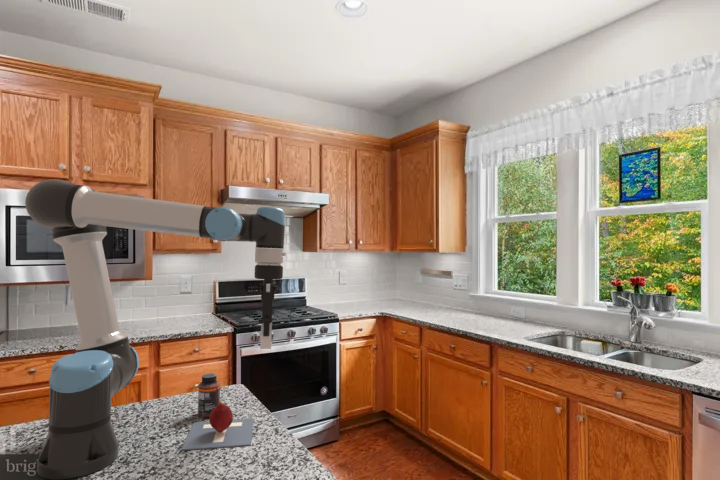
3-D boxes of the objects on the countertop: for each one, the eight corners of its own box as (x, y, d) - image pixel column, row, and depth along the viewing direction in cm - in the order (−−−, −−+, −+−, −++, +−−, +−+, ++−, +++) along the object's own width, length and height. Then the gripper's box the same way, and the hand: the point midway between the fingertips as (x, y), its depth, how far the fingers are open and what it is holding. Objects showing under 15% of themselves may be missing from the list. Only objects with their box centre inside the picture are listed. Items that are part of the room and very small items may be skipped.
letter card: (181, 450, 101) (181, 448, 101) (193, 423, 116) (194, 421, 116) (250, 445, 104) (250, 443, 104) (253, 419, 119) (253, 418, 119)
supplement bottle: (215, 408, 127) (215, 370, 127) (222, 415, 122) (223, 375, 123) (194, 413, 123) (195, 374, 123) (201, 420, 119) (202, 379, 119)
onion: (235, 428, 113) (236, 398, 113) (227, 437, 107) (228, 406, 107) (214, 426, 113) (215, 396, 113) (204, 436, 107) (205, 404, 108)
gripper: (284, 266, 104) (281, 353, 103) (281, 263, 128) (279, 333, 128) (253, 265, 102) (249, 354, 102) (256, 262, 127) (253, 333, 126)
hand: (265, 342), depth 115 cm, fingers open, 13 cm apart
